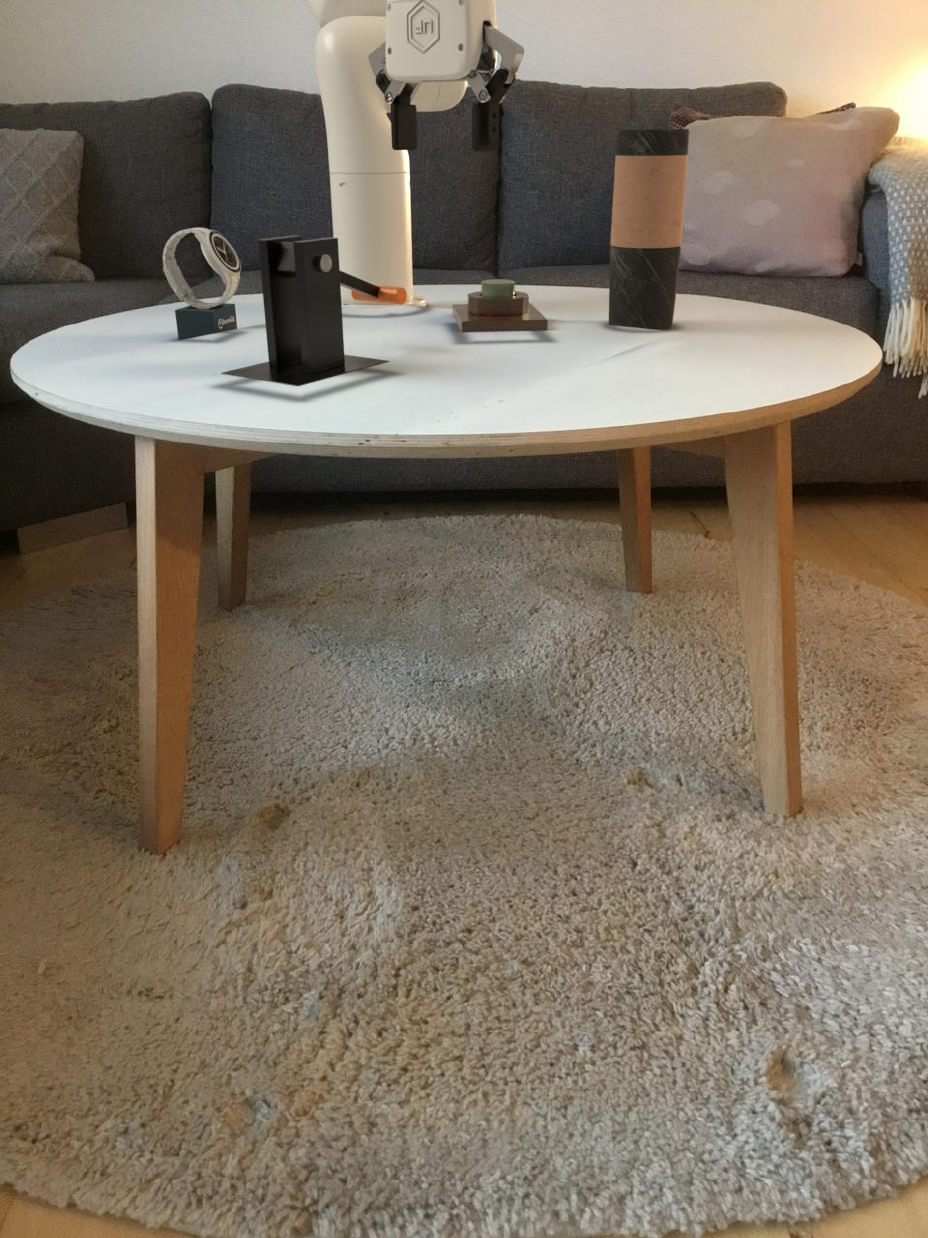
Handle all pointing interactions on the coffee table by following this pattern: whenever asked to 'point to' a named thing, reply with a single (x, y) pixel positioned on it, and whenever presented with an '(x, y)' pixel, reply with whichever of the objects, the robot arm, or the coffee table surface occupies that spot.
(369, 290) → the switch lever
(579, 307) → the coffee table surface
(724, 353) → the coffee table surface
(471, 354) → the coffee table surface
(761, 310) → the coffee table surface
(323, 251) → the switch bracket
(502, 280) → the warm button
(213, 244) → the watch
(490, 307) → the button block
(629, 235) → the travel mug
